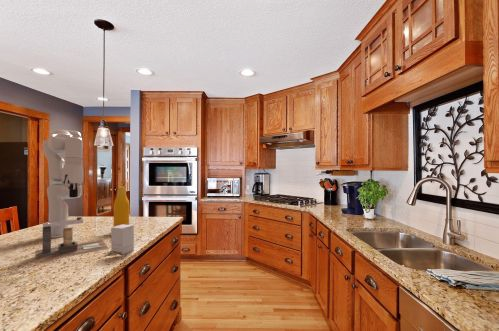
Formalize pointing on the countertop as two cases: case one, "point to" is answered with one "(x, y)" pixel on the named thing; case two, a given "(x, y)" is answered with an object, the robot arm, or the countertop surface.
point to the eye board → (65, 248)
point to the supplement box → (122, 238)
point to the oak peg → (67, 236)
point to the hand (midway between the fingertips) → (73, 197)
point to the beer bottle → (121, 208)
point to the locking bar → (63, 222)
